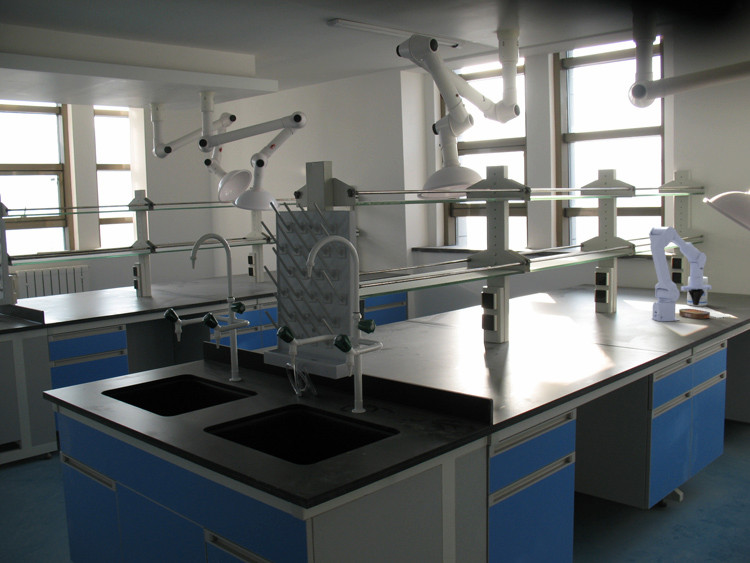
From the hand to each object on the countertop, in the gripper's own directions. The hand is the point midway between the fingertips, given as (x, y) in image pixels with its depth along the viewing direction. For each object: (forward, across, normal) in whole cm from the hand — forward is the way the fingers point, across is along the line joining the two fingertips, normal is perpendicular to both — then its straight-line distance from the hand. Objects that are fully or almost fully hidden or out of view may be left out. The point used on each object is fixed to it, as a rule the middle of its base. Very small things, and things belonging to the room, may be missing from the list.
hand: (695, 305), depth 322 cm
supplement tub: (+5, +18, +28) cm, 34 cm away
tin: (+4, +3, 0) cm, 5 cm away
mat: (+5, +10, 0) cm, 11 cm away
